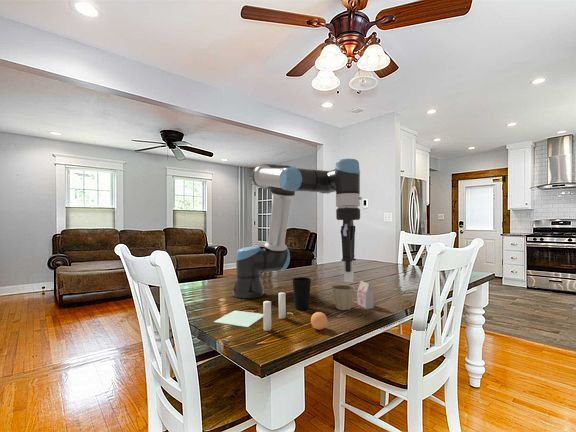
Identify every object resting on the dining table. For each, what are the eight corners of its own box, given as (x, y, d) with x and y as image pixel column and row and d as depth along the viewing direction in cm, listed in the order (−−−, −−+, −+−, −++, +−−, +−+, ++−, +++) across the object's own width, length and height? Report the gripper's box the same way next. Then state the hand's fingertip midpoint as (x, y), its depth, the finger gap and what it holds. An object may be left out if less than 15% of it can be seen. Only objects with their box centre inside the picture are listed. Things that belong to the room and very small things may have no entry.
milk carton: (364, 303, 124) (364, 280, 124) (373, 308, 118) (373, 283, 118) (357, 304, 123) (356, 281, 123) (365, 309, 117) (365, 284, 117)
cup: (309, 311, 114) (309, 281, 114) (291, 310, 115) (290, 280, 116) (312, 306, 121) (311, 277, 122) (294, 305, 123) (294, 276, 123)
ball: (313, 325, 98) (313, 309, 99) (329, 327, 96) (329, 310, 96) (308, 330, 93) (308, 313, 93) (325, 333, 91) (325, 315, 91)
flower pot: (330, 304, 123) (330, 284, 123) (352, 304, 122) (352, 284, 123) (333, 311, 113) (333, 289, 114) (357, 311, 113) (357, 289, 113)
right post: (280, 316, 108) (280, 292, 109) (286, 316, 107) (286, 292, 108) (277, 318, 106) (277, 293, 106) (284, 319, 105) (283, 294, 105)
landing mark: (234, 310, 115) (234, 310, 115) (266, 314, 110) (266, 314, 110) (213, 322, 102) (213, 321, 102) (247, 327, 97) (247, 326, 97)
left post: (265, 327, 97) (265, 300, 97) (272, 328, 96) (272, 301, 96) (262, 330, 94) (261, 302, 94) (269, 331, 93) (269, 303, 93)
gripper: (356, 206, 85) (357, 286, 84) (362, 208, 97) (363, 278, 96) (331, 207, 87) (332, 284, 87) (340, 208, 100) (341, 277, 99)
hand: (348, 281), depth 92 cm, fingers closed
